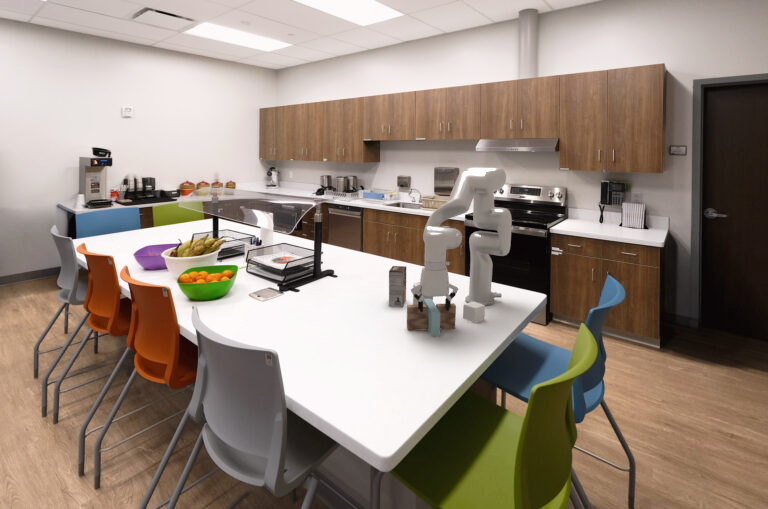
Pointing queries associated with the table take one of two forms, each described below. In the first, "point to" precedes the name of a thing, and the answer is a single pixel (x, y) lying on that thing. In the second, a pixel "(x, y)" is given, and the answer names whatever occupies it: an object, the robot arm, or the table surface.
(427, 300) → the teal slotted board
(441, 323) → the walnut slotted board
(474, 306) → the white cube
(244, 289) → the table surface
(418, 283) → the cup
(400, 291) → the coffee box
